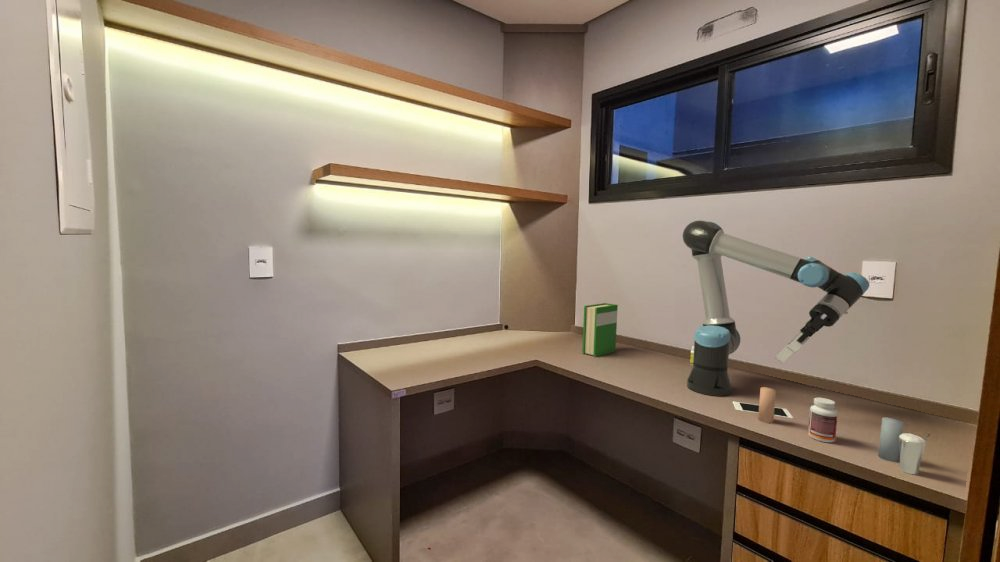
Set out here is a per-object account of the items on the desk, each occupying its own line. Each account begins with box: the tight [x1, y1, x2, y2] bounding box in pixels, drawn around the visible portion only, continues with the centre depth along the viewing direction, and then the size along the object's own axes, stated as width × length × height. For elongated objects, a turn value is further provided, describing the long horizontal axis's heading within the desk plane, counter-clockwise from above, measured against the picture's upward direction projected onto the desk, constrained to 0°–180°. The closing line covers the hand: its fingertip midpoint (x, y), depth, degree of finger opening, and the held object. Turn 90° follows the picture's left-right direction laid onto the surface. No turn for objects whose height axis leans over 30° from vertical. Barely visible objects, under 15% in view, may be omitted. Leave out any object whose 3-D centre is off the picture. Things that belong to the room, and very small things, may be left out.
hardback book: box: [581, 302, 619, 358], centre depth 204 cm, size 18×7×24 cm, turn 132°
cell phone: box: [732, 400, 794, 419], centre depth 136 cm, size 8×16×1 cm, turn 69°
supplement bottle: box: [689, 345, 694, 367], centre depth 186 cm, size 5×5×8 cm
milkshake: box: [899, 432, 931, 475], centre depth 99 cm, size 4×5×10 cm
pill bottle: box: [807, 397, 839, 443], centre depth 116 cm, size 6×6×11 cm
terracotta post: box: [757, 386, 777, 424], centre depth 127 cm, size 4×4×10 cm
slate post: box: [878, 417, 905, 463], centre depth 106 cm, size 4×4×10 cm
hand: (784, 355), depth 135 cm, fingers open, 13 cm apart
